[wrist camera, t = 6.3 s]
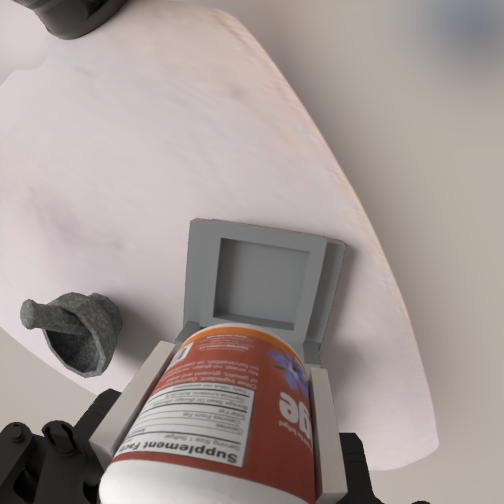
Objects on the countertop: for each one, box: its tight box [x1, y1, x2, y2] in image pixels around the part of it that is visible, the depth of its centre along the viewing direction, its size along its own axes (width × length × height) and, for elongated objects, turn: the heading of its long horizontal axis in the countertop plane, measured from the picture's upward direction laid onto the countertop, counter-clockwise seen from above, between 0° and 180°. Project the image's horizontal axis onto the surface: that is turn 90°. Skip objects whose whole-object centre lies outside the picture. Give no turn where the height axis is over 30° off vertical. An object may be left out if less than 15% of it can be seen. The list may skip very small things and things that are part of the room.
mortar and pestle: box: [20, 292, 122, 378], centre depth 25 cm, size 11×9×12 cm
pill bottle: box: [99, 323, 316, 504], centre depth 7 cm, size 6×6×11 cm
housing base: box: [175, 218, 346, 378], centre depth 26 cm, size 24×14×6 cm, turn 172°
